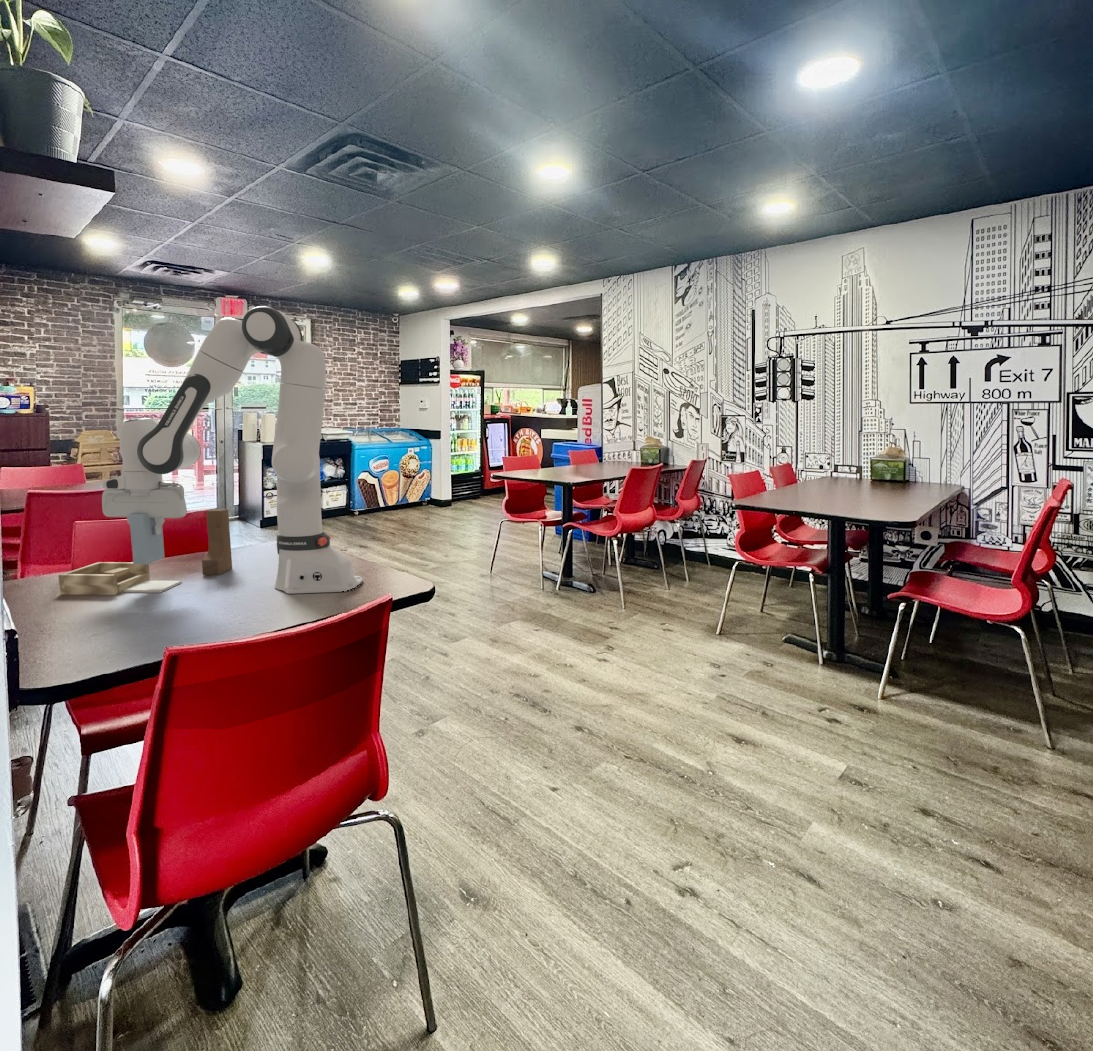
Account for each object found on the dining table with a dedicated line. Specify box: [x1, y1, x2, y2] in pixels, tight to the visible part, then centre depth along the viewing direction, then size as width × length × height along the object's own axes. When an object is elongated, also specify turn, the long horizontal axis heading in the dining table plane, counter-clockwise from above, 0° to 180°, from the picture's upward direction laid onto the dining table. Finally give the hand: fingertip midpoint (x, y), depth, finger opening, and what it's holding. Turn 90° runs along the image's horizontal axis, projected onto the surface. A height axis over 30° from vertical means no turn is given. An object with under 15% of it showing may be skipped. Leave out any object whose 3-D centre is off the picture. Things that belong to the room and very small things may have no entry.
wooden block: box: [201, 508, 233, 576], centre depth 193 cm, size 9×4×18 cm, turn 0°
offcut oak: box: [103, 568, 130, 581], centre depth 176 cm, size 3×6×2 cm, turn 171°
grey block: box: [129, 513, 166, 565], centre depth 175 cm, size 4×8×13 cm, turn 0°
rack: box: [57, 561, 151, 596], centre depth 177 cm, size 14×15×5 cm
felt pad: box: [122, 579, 182, 594], centre depth 177 cm, size 10×10×1 cm
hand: (147, 534), depth 175 cm, fingers closed on grey block, 3 cm apart
